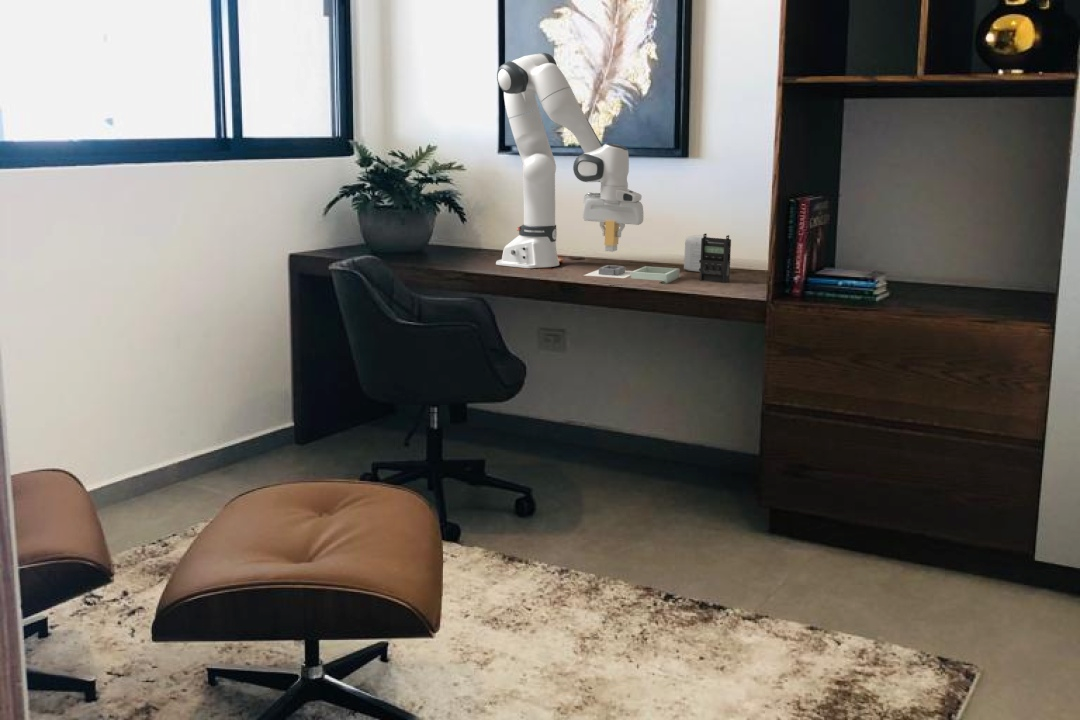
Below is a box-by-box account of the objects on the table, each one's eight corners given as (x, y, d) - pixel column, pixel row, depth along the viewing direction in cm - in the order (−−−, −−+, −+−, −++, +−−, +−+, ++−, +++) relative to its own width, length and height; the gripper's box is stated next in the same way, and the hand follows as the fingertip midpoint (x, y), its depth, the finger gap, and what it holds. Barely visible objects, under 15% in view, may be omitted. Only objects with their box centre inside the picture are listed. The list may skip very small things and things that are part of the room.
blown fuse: (604, 251, 363) (605, 220, 361) (609, 249, 368) (610, 219, 365) (612, 251, 362) (614, 221, 360) (617, 250, 366) (619, 219, 364)
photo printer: (714, 272, 377) (716, 235, 374) (709, 273, 373) (710, 237, 370) (687, 269, 382) (688, 233, 379) (682, 271, 379) (683, 234, 376)
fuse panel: (583, 278, 362) (583, 269, 361) (600, 271, 376) (600, 262, 375) (623, 281, 356) (624, 272, 356) (639, 274, 371) (640, 265, 370)
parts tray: (630, 281, 356) (630, 272, 356) (644, 275, 369) (644, 266, 368) (666, 283, 352) (666, 274, 351) (679, 277, 364) (679, 268, 364)
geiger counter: (695, 280, 359) (697, 234, 355) (701, 278, 362) (703, 232, 359) (725, 283, 353) (727, 236, 350) (731, 281, 357) (733, 235, 353)
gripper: (580, 192, 361) (578, 235, 365) (640, 196, 354) (637, 240, 357) (587, 191, 367) (585, 233, 370) (646, 195, 359) (643, 238, 363)
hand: (611, 236), depth 364 cm, fingers closed on blown fuse, 3 cm apart
